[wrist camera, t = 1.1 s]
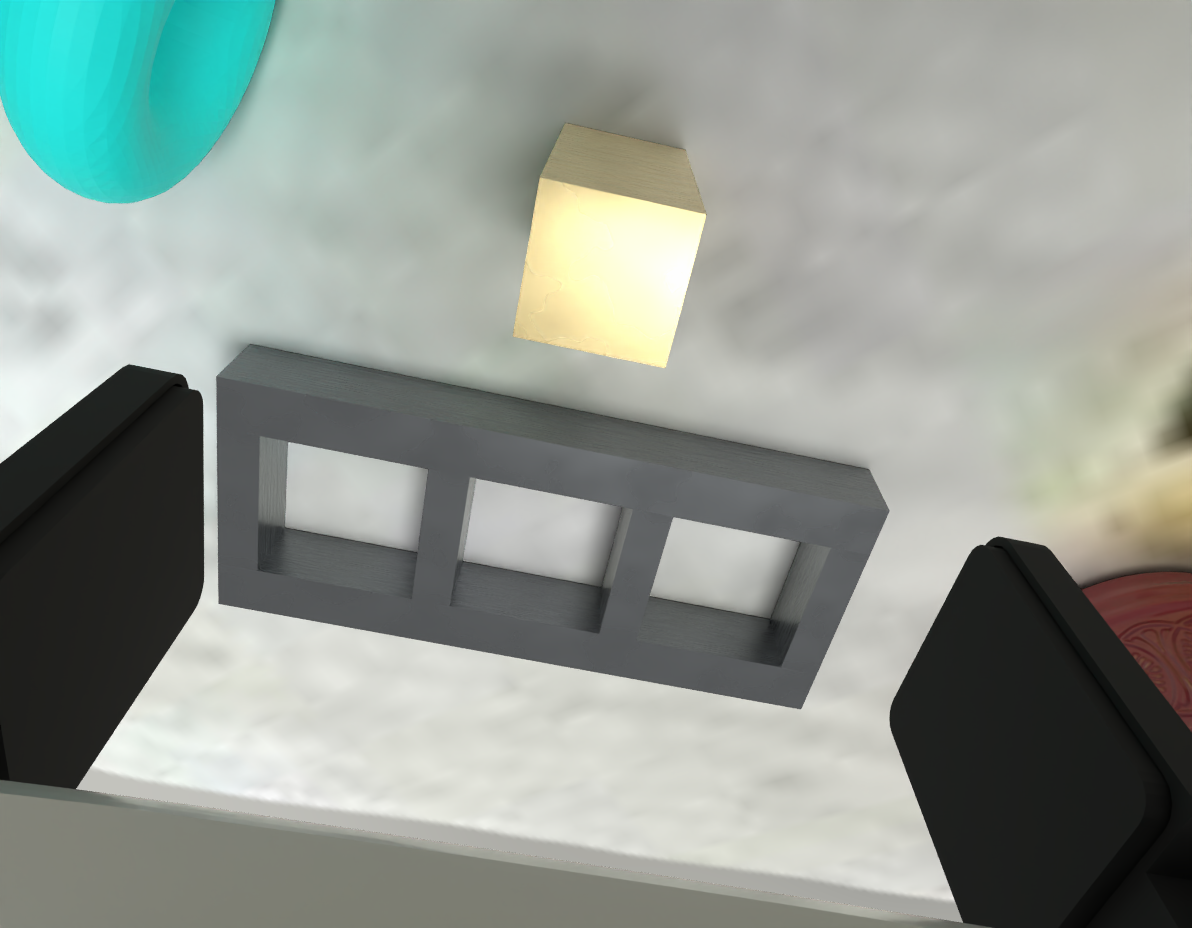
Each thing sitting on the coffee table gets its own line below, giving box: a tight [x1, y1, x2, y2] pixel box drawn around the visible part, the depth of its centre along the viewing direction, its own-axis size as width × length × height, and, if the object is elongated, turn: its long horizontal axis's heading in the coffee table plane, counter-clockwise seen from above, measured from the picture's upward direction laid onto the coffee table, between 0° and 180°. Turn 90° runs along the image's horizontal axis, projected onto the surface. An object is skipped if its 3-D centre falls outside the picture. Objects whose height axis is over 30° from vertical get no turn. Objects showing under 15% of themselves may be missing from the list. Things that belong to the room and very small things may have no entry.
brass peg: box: [513, 123, 707, 368], centre depth 25 cm, size 4×4×9 cm
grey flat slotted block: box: [216, 344, 889, 709], centre depth 34 cm, size 24×10×3 cm, turn 78°
